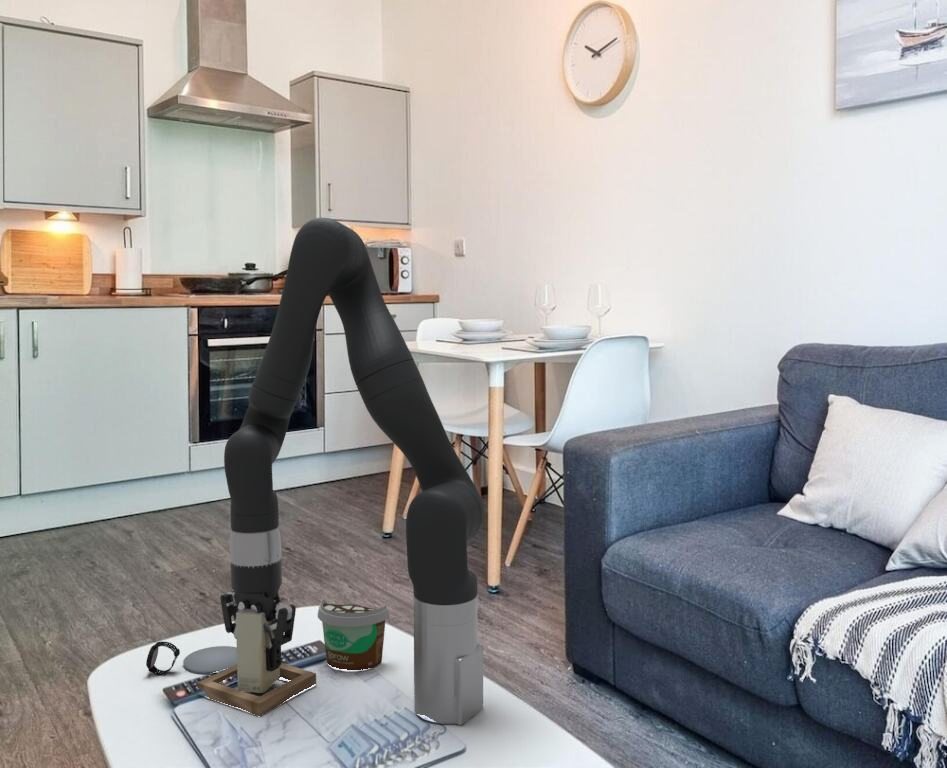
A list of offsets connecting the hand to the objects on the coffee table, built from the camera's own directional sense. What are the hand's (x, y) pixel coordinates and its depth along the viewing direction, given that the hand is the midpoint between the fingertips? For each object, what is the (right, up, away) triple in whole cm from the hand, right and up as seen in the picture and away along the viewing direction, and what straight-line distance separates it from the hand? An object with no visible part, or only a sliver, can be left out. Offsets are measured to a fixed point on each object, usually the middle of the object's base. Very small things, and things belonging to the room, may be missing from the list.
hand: (258, 664), depth 131 cm
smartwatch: (-17, -4, +6) cm, 19 cm away
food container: (+12, -3, +9) cm, 16 cm away
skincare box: (0, -3, 0) cm, 3 cm away
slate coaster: (-10, -3, +11) cm, 15 cm away
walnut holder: (0, -4, 0) cm, 4 cm away
